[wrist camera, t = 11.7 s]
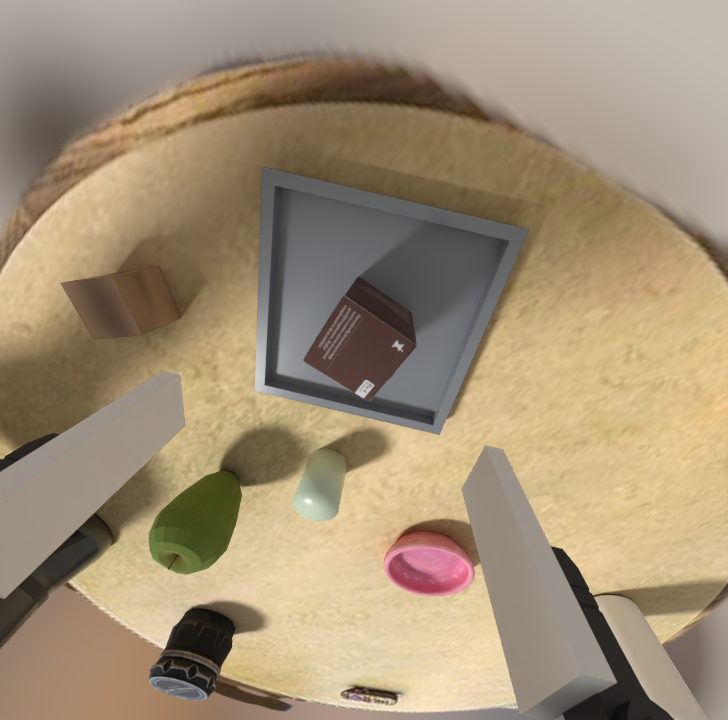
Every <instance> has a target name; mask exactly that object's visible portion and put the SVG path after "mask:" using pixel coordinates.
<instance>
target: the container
mask: <svg viewBox="0 0 728 720" xmlns="http://www.w3.org/2000/svg"><path fill="white" fill-rule="evenodd" d="M234 630H235V628H234V627H233V623H232V621H230V620H229V619H227V618H226V617H224V616H223V615H221V614H219V613H215V612H212V611H207V610H201V609H192V610H189V611H188V612H186V613H185V615H184V616H183V618H182V619H181V620H180V622H179V623H178V624H177V625H175V626H174V627H173V629H172V632H171V634H170V637H169V640H168V643H167V645H166V648H165V650H164V651H163V652H162V653H161V655H160V656H159V661H158V662H157V663H156V664H155V665H154V666H153V667H152V668H151V670H150V677H149V682H150V684H151V685H153V686H154V687H155V688H156V689H158V690H160V691H162V692H165V693H168V694H170V695H173V696H175V697H179V698H182V699H187V700H198V701H199V700H205V699H207V698H208V697H209V695H210V694H211V693H212V692H213V691H214V690H215V688H216V679H217V678H218V676H219V674H220V671H221V666H222V664H223V662H224V661H225V659H226V657H227V655H228V654H229V652H230V650H231V648H232V637H233V634H234Z"/></svg>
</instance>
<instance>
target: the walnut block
mask: <svg viewBox="0 0 728 720" xmlns="http://www.w3.org/2000/svg"><path fill="white" fill-rule="evenodd" d="M61 285H62V286H63V288H64V290H65V292H66V293H67V295H68V297H69V298H70V300H71V302H72V303H73V305H74V307H75V309H76V310H77V312H78V314H79V315H80V317H81V319H82V320H83V322H84V324H85V326H86V327H87V329H88V331H89V332H90V334H91V336H92V337H93V339H104V338H114V337H125V336H135V335H142V334H145V333H147V332H149V331H152V330H154V329H156V328H159V327H161V326H163V325H166V324H168V323H170V322H172V321H175V320H177V319H179V318H181V316H180V314H179V311H178V309H177V307H176V304H175V302H174V300H173V297H172V295H171V292H170V290H169V288H168V285H167V283H166V281H165V278H164V276H163V274H162V271H161V269H160V267H157V268H150V269H143V270H136V271H129V272H122V273H115V274H109V275H103V276H98V277H92V278H86V279H81V280H75V281H69V282H63V283H61Z"/></svg>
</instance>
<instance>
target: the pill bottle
mask: <svg viewBox="0 0 728 720" xmlns="http://www.w3.org/2000/svg"><path fill="white" fill-rule="evenodd" d="M594 599H595V600H596V602H597V604H598V606H599V611H601V612H602V613H603V615H604V617H605V619H606V621H607V623H608V625H609V626H610V628H611V630H612V632H613V634H614V636H615V638H616V639H617V641H618V643H619V645H620V647H621V649H622V650H623V652H624V654H625V656H626V658H627V660H628V662H629V663H630V665H631V667H632V669H633V671H634V673H635V675H636V676H637V678H638V680H639V682H640V684H641V685H642V687H643V689H644V690H645V692H646V694H647V695H648V697H649V698H650V700H652V701H653V702H655V703H656V704H657V705H659V706H660V707H661V708H663V709H664V710H665V711H667V712H668V713H669V714H670V715H671V716H672V718H673V719H674V720H708V719H707V718H706V716H705V714H704V713H703V711H702V709H701V708H700V706H699V705H698V703H697V701H696V700H695V698H694V696H693V695H692V693H691V692H690V690H689V688H688V687H687V685H686V684H685V682H684V680H683V679H682V677H681V675H680V674H679V672H678V671H677V669H676V667H675V666H674V664H673V663H672V661H671V659H670V658H669V656H668V654H667V653H666V651H665V650H664V648H663V646H662V645H661V643H660V642H659V640H658V638H657V637H656V635H655V633H654V632H653V630H652V629H651V627H650V625H649V624H648V622H647V621H646V619H645V617H644V616H643V614H642V612H641V611H640V610H639V608H638V607H637V605H636V604H635V603H634V602H633V601H631V600H630V599H628V598H625V597H621V596H615V595H602V596H596V597H594Z"/></svg>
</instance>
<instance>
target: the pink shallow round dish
mask: <svg viewBox="0 0 728 720" xmlns="http://www.w3.org/2000/svg"><path fill="white" fill-rule="evenodd" d="M384 570H385V573H386V575H387V577H388V578H389V579H390V580H391V581H392V582H393V583H394V584H395V585H397V586H398V587H400V588H402V589H404V590H406V591H408V592H411V593H414V594H419V595H425V596H445V595H451V594H455V593H458V592H460V591H462V590H464V589H466V588H467V587H468V586H469V585H470V584H471V583H472V581H473V579H474V575H475V571H474V566H473V563H472V560H471V559H470V557H469V556H468V555H467V553H465V552H464V550H463V549H462V548H461V547H459V546H458V545H457V544H456V543H455V542H454V541H453V540H451V539H450V538H448V537H446V536H444V535H442V534H439V533H434V532H427V531H420V532H413V533H409V534H407V535H404V536H403V537H401V538H400V539H399V540H398V541H397V542H396V543H395V544H394V545H393V546H392V547H391V548H390V549H389V550H388V552H387V553H386V555H385V559H384Z"/></svg>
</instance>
